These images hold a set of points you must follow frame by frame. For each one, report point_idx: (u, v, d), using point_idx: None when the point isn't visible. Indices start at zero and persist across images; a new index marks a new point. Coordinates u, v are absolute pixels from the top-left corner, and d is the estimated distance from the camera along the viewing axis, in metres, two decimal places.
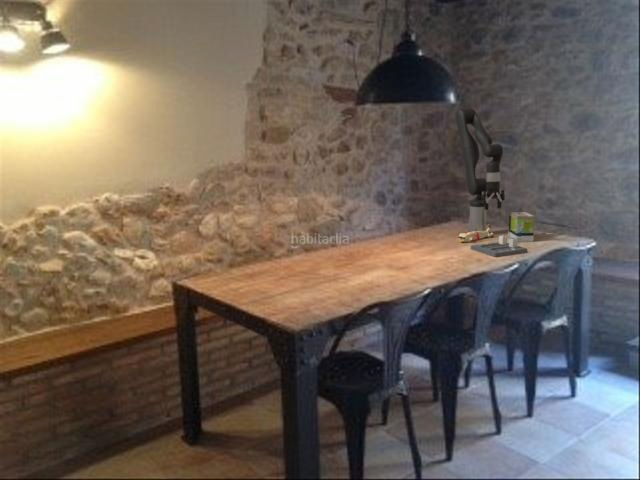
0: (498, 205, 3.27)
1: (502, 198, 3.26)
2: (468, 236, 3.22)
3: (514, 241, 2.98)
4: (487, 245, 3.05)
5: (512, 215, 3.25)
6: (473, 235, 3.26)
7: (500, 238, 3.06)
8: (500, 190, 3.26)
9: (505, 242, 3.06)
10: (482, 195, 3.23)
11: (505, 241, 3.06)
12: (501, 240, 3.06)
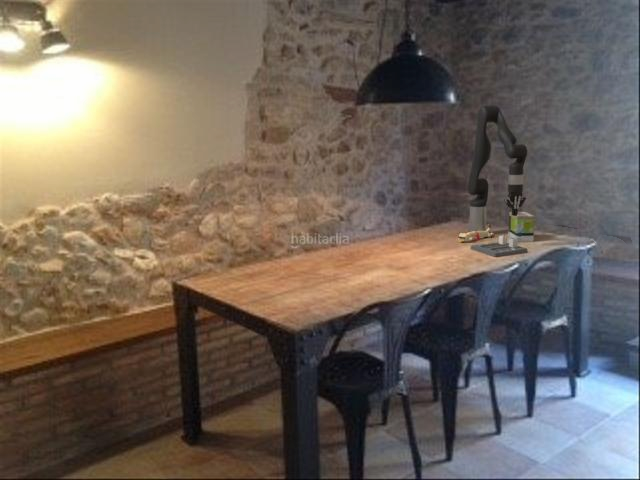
0: None
1: (519, 205, 3.05)
2: (468, 236, 3.23)
3: (514, 241, 2.98)
4: (487, 245, 3.05)
5: (512, 215, 3.25)
6: (473, 235, 3.27)
7: (500, 238, 3.06)
8: None
9: (505, 242, 3.06)
10: (506, 202, 3.04)
11: (505, 241, 3.06)
12: (501, 240, 3.06)
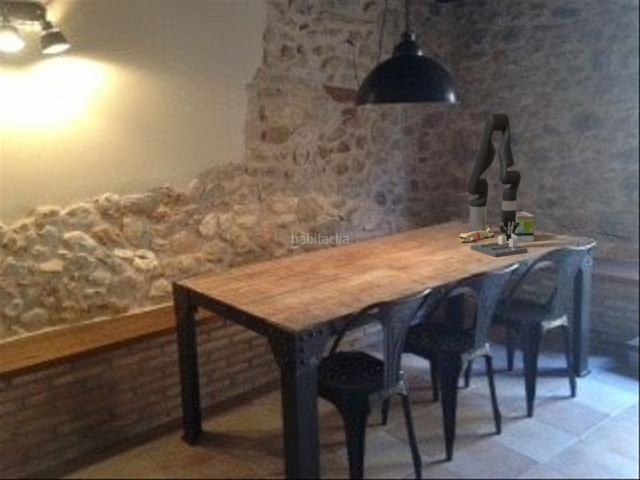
0: None
1: (512, 230, 3.07)
2: (469, 236, 3.23)
3: (514, 241, 2.98)
4: (487, 245, 3.05)
5: None
6: (474, 235, 3.26)
7: (499, 238, 3.06)
8: None
9: (504, 242, 3.06)
10: (500, 228, 3.05)
11: (504, 241, 3.06)
12: (500, 240, 3.06)
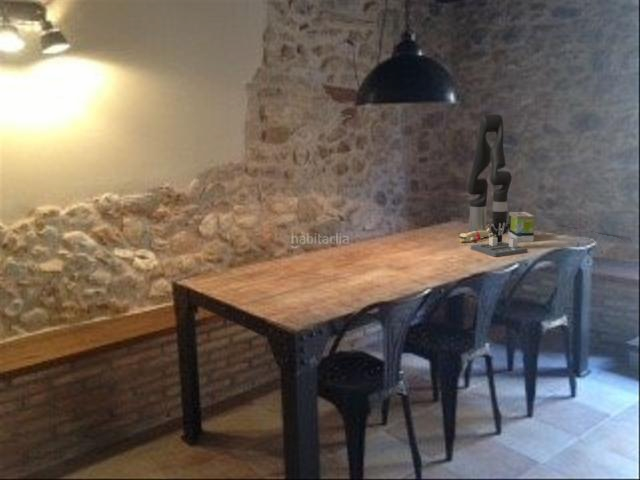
0: None
1: (503, 231, 3.05)
2: (469, 236, 3.23)
3: (514, 241, 2.98)
4: (487, 245, 3.05)
5: (512, 215, 3.25)
6: (474, 235, 3.26)
7: (490, 239, 3.04)
8: None
9: (495, 243, 3.03)
10: (491, 229, 3.03)
11: (495, 242, 3.03)
12: (491, 241, 3.03)
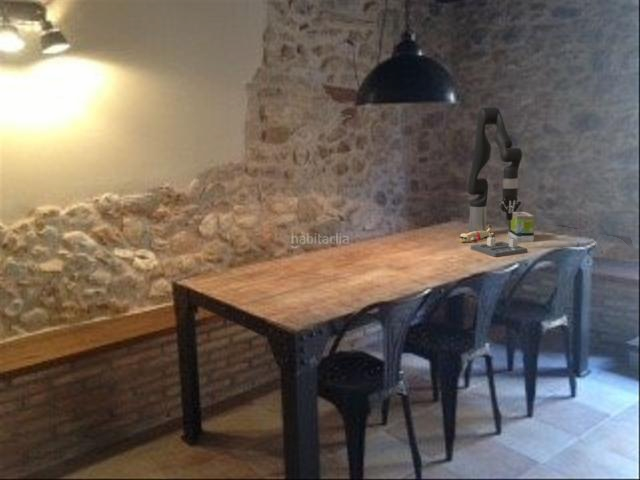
0: None
1: (513, 209, 3.01)
2: (469, 236, 3.23)
3: (514, 241, 2.98)
4: (487, 245, 3.05)
5: None
6: (474, 235, 3.27)
7: (488, 240, 3.04)
8: (517, 200, 3.01)
9: (493, 244, 3.03)
10: (501, 206, 2.99)
11: (493, 243, 3.03)
12: (489, 242, 3.03)
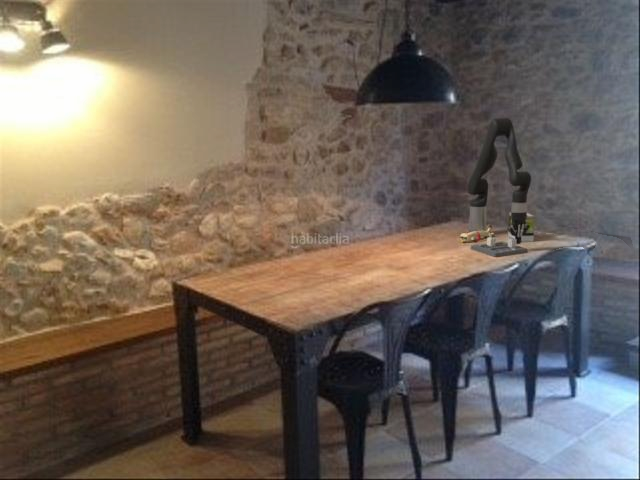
0: None
1: (522, 233, 2.99)
2: (469, 236, 3.23)
3: (513, 241, 2.97)
4: (487, 245, 3.05)
5: None
6: (474, 235, 3.27)
7: (488, 240, 3.04)
8: (526, 224, 3.00)
9: (493, 244, 3.03)
10: (510, 230, 2.98)
11: (493, 243, 3.03)
12: (489, 242, 3.03)
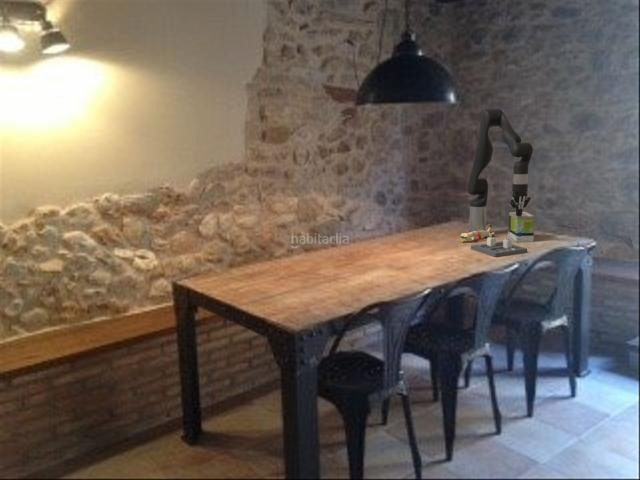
0: None
1: (523, 205, 2.96)
2: (470, 236, 3.23)
3: (508, 242, 2.96)
4: (487, 245, 3.05)
5: (512, 215, 3.25)
6: (475, 235, 3.27)
7: (488, 240, 3.04)
8: (527, 196, 2.97)
9: (493, 244, 3.03)
10: (511, 202, 2.95)
11: (493, 243, 3.03)
12: (489, 242, 3.03)
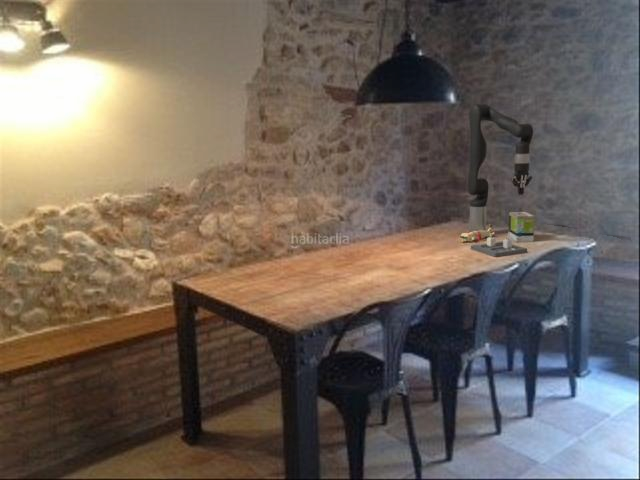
0: None
1: (525, 184, 3.09)
2: (470, 236, 3.23)
3: (508, 242, 2.96)
4: (487, 245, 3.05)
5: (512, 215, 3.25)
6: (475, 235, 3.27)
7: (488, 240, 3.04)
8: None
9: (493, 244, 3.03)
10: (513, 181, 3.08)
11: (493, 243, 3.03)
12: (489, 242, 3.03)
